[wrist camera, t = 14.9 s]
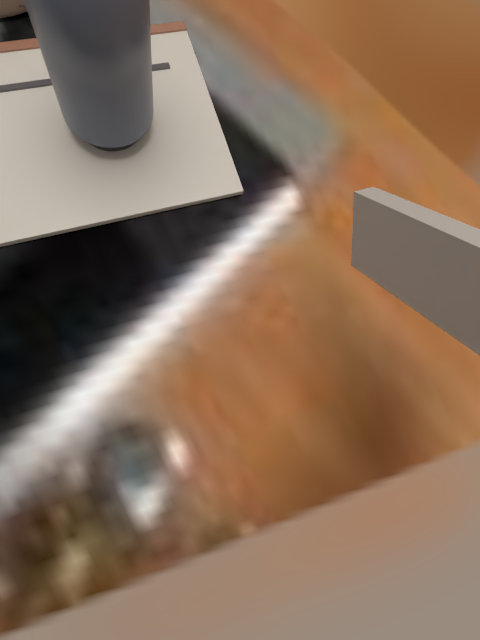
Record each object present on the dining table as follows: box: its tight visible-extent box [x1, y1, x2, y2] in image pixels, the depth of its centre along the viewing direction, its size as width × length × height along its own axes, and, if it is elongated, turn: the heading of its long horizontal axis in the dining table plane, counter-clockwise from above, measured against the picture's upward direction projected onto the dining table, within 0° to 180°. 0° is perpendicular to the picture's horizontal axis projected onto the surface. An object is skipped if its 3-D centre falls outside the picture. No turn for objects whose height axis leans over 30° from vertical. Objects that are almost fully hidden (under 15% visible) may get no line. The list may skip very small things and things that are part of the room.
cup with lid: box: [24, 0, 154, 151], centre depth 14 cm, size 4×4×12 cm
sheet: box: [0, 21, 243, 247], centre depth 19 cm, size 20×10×1 cm, turn 109°
